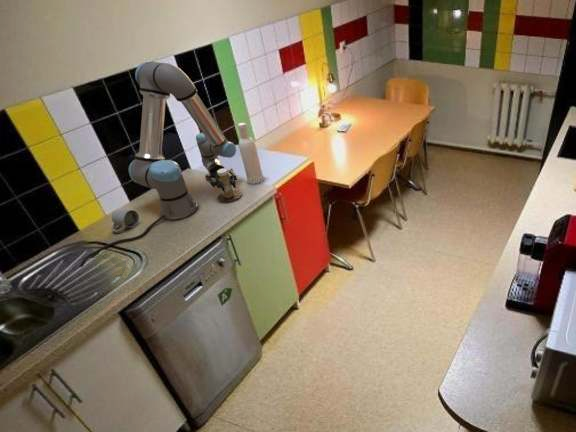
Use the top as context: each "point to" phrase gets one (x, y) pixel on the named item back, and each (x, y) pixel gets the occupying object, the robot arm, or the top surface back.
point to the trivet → (235, 197)
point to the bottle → (249, 156)
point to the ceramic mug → (124, 219)
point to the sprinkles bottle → (225, 182)
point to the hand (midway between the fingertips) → (228, 187)
